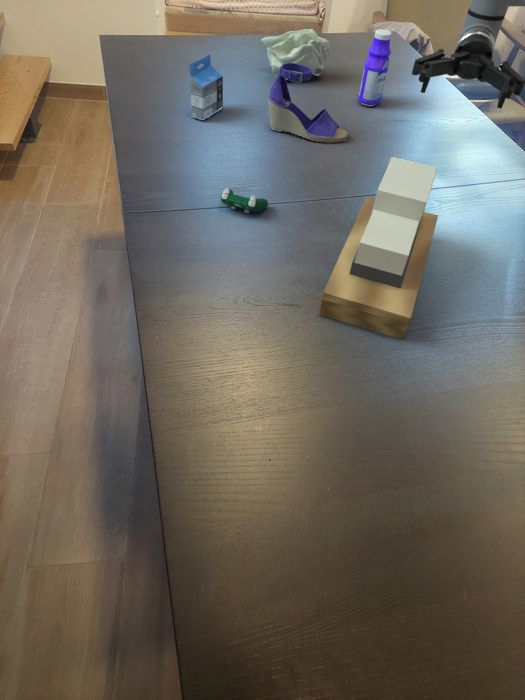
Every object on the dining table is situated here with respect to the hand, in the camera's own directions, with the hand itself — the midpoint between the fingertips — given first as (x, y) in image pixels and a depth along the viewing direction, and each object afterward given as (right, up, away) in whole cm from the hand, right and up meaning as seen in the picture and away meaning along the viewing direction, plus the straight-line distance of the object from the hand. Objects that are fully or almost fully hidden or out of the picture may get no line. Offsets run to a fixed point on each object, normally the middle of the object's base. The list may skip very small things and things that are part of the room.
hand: (463, 92), depth 90 cm
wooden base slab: (-14, -32, +2) cm, 35 cm away
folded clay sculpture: (-27, +34, +58) cm, 72 cm away
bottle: (-6, +22, +50) cm, 55 cm away
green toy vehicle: (-39, -17, +13) cm, 45 cm away
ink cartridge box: (-49, +14, +40) cm, 65 cm away
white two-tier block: (-13, -27, -1) cm, 30 cm away
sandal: (-24, +8, +36) cm, 44 cm away
